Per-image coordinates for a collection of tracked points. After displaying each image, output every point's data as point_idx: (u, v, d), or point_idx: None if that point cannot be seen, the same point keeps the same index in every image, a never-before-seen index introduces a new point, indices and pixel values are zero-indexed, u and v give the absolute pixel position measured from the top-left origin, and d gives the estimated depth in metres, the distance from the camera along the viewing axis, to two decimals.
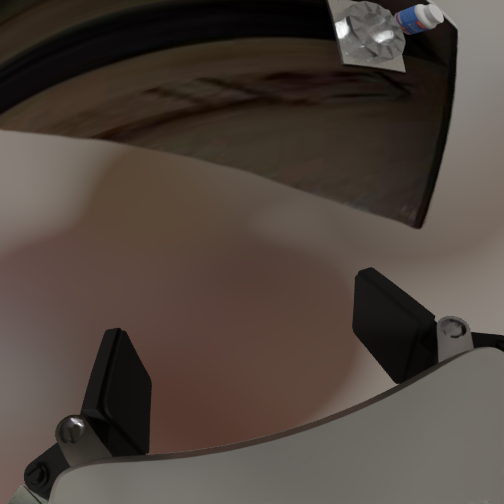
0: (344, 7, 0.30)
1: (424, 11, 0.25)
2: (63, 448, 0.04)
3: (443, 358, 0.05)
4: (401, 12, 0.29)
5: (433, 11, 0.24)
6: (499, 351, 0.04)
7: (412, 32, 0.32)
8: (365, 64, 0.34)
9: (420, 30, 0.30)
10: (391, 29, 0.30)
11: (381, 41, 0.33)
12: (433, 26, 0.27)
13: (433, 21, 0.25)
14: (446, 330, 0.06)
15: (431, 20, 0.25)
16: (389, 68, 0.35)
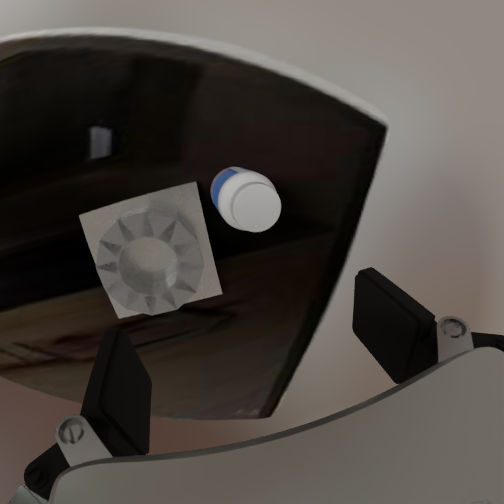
0: (105, 225, 0.27)
1: None
2: (63, 448, 0.04)
3: (443, 358, 0.05)
4: (214, 184, 0.27)
5: (244, 211, 0.22)
6: (499, 351, 0.04)
7: None
8: None
9: None
10: None
11: (173, 262, 0.31)
12: None
13: None
14: (446, 330, 0.06)
15: None
16: (190, 300, 0.33)
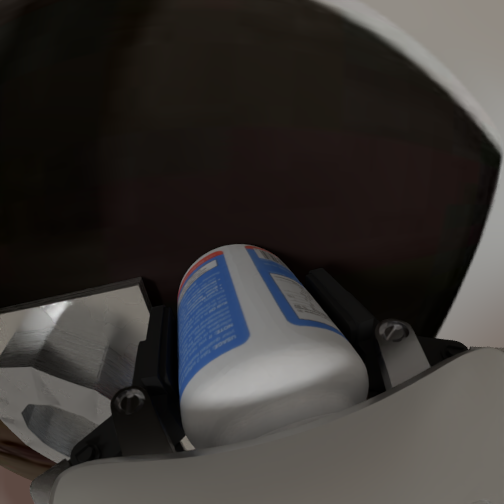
0: None
1: None
2: (122, 419, 0.05)
3: (392, 366, 0.06)
4: (181, 308, 0.10)
5: None
6: (499, 351, 0.04)
7: None
8: None
9: None
10: None
11: None
12: None
13: None
14: (386, 335, 0.07)
15: None
16: None
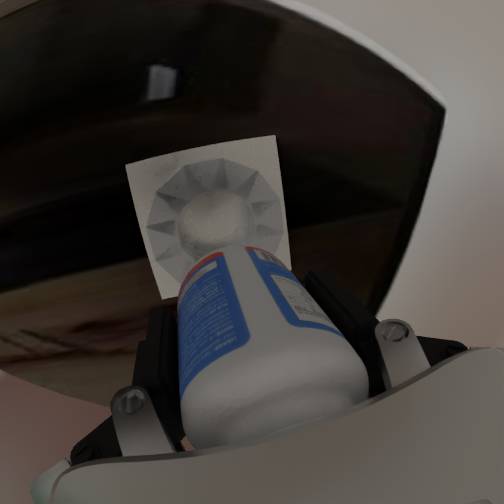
0: (159, 178, 0.23)
1: None
2: (122, 419, 0.05)
3: (392, 366, 0.06)
4: (181, 309, 0.10)
5: None
6: (499, 351, 0.04)
7: None
8: None
9: None
10: (252, 213, 0.23)
11: (240, 228, 0.27)
12: None
13: None
14: (386, 335, 0.07)
15: None
16: None
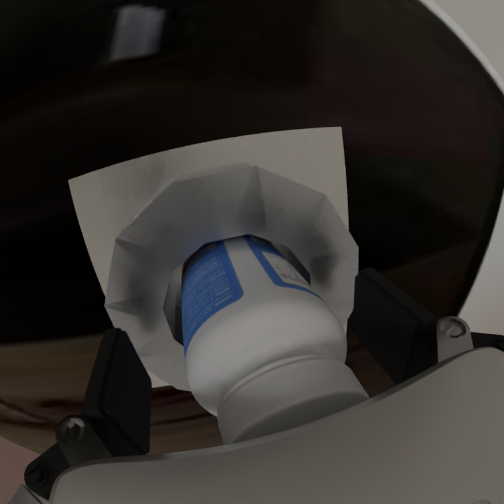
0: (129, 204, 0.12)
1: None
2: (63, 448, 0.04)
3: (443, 358, 0.05)
4: (185, 284, 0.11)
5: None
6: (499, 351, 0.04)
7: None
8: None
9: None
10: (307, 275, 0.12)
11: None
12: None
13: None
14: (446, 330, 0.06)
15: None
16: None
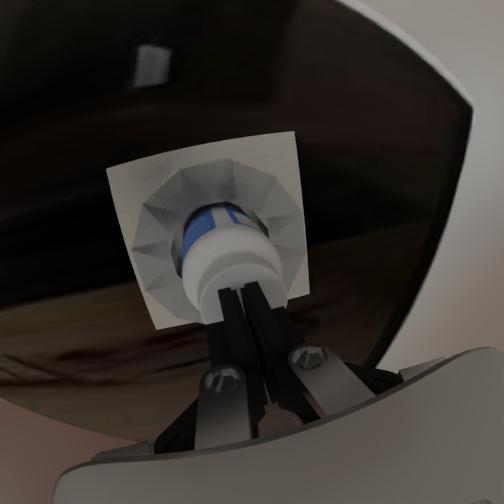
0: (149, 185, 0.18)
1: None
2: (220, 399, 0.06)
3: (321, 396, 0.06)
4: (185, 234, 0.18)
5: (220, 311, 0.12)
6: (499, 351, 0.04)
7: None
8: None
9: None
10: (267, 230, 0.18)
11: None
12: None
13: None
14: (303, 363, 0.07)
15: None
16: None
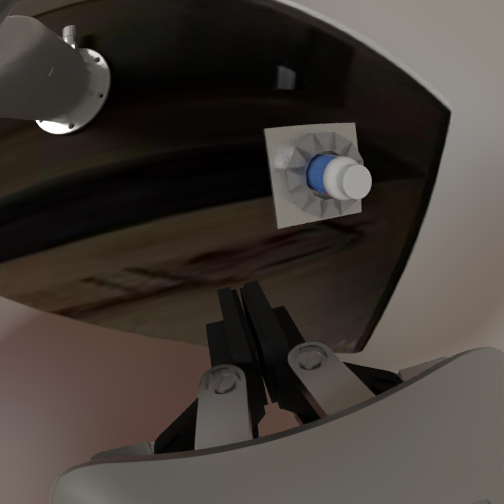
0: (287, 141, 0.35)
1: (336, 181, 0.30)
2: (220, 399, 0.06)
3: (321, 397, 0.06)
4: (311, 165, 0.34)
5: (350, 183, 0.28)
6: (499, 351, 0.04)
7: None
8: (306, 221, 0.39)
9: None
10: None
11: None
12: None
13: (348, 197, 0.30)
14: (303, 363, 0.07)
15: (346, 195, 0.30)
16: (339, 215, 0.40)
